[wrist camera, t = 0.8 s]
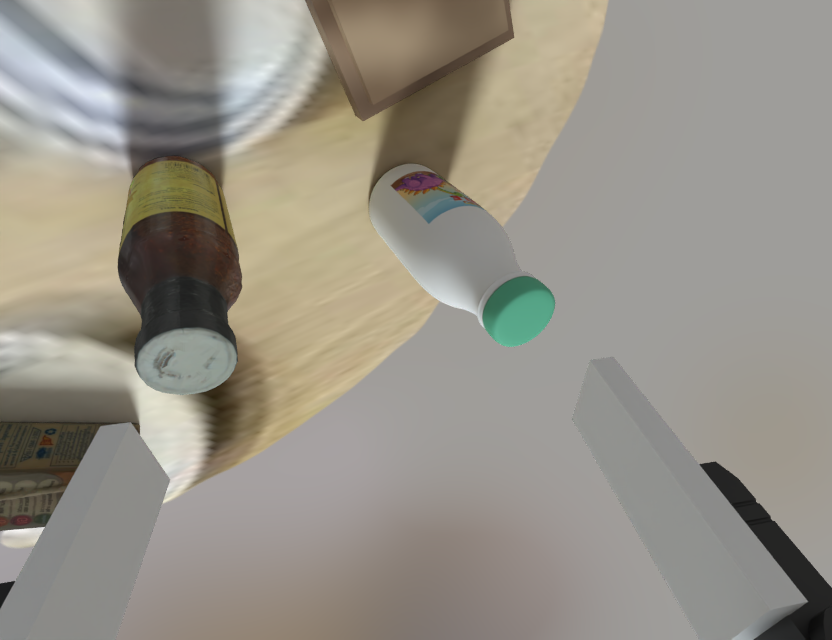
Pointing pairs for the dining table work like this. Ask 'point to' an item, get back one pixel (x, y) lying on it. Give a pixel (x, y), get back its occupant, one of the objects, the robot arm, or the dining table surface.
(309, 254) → the dining table surface
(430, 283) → the milk bottle
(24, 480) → the dark brown block
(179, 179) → the sauce bottle
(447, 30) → the podium
